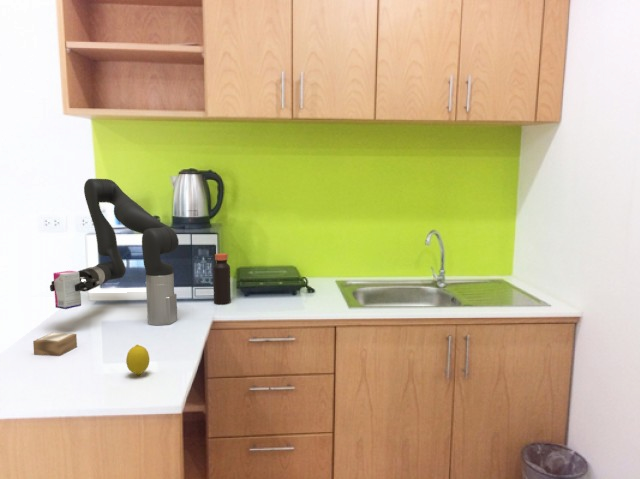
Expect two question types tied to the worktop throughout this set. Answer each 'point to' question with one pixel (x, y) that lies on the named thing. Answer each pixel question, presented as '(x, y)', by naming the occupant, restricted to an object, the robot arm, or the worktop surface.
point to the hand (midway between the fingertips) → (63, 288)
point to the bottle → (221, 280)
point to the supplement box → (66, 289)
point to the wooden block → (55, 344)
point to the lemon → (137, 359)
